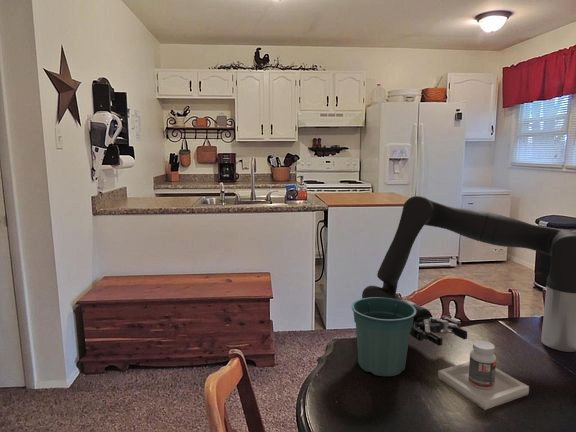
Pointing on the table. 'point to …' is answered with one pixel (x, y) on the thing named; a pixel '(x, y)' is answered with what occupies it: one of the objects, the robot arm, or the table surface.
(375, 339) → the flower pot
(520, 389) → the tray
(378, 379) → the table surface
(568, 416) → the table surface
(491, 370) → the pill bottle
